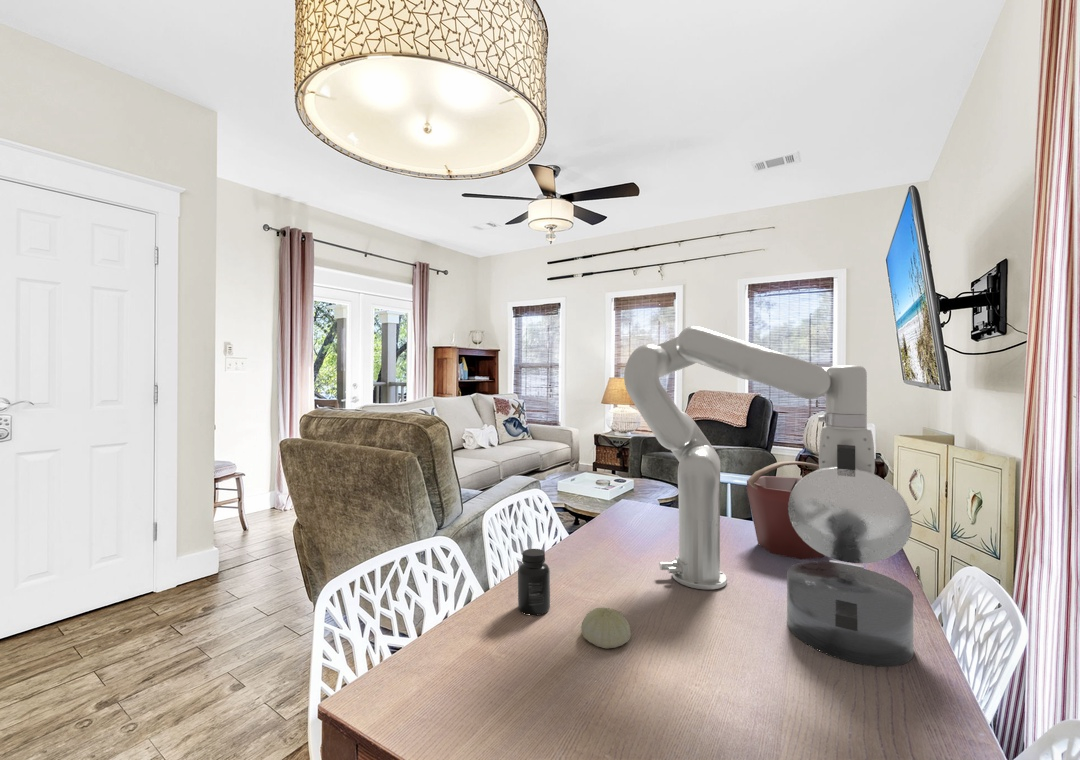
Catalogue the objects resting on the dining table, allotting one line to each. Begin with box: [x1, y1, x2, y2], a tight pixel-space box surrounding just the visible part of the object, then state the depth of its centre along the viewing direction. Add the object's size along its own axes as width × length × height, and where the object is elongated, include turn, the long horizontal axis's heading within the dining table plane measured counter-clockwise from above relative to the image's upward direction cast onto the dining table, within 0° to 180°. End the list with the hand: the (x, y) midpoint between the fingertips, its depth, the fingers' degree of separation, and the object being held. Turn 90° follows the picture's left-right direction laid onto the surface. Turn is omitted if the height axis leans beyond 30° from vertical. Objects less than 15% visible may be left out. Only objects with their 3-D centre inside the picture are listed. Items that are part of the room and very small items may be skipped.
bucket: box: [746, 460, 825, 561], centre depth 134 cm, size 24×22×25 cm
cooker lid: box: [788, 445, 913, 564], centre depth 95 cm, size 26×21×2 cm
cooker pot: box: [786, 559, 914, 668], centre depth 87 cm, size 27×20×10 cm
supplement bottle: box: [517, 548, 551, 616], centre depth 99 cm, size 7×7×12 cm
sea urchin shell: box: [580, 607, 632, 649], centre depth 88 cm, size 9×8×8 cm
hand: (846, 505), depth 102 cm, fingers closed
